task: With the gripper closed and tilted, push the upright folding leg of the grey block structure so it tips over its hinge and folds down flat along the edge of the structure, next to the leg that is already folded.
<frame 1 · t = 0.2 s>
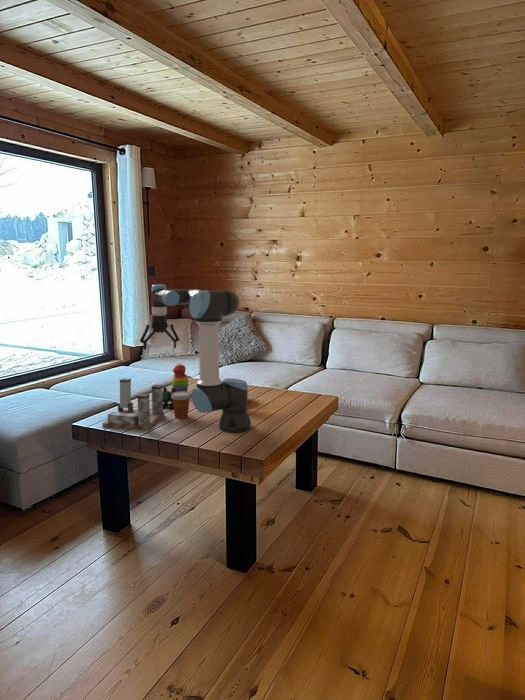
hand: (160, 354, 255), 28 cm above the table, tool pointing down, fingers open, 13 cm apart
disposable coffee cup: (181, 417, 243), on the table
binoculars: (168, 408, 257), on the table
grey block structure: (134, 421, 235), on the table
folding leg: (125, 393, 243), point 11 cm above the table, hinge at -4.0°
stacking bear: (179, 394, 284), on the table
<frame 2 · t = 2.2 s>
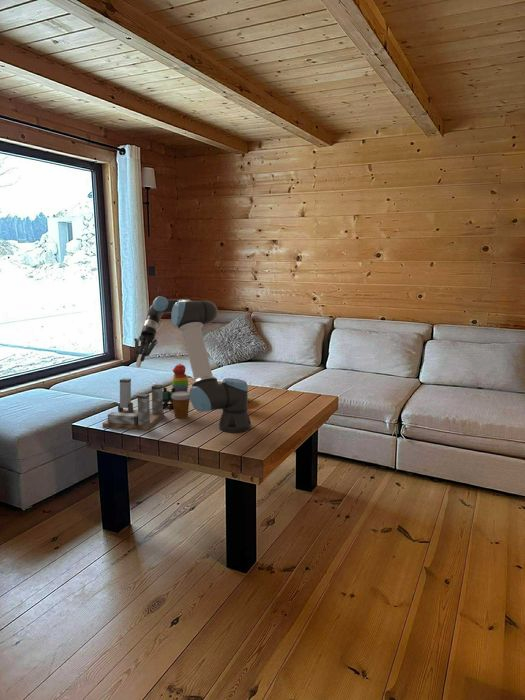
hand: (137, 365, 253), 22 cm above the table, tool tilted 45°, fingers closed
nothing on the table moved.
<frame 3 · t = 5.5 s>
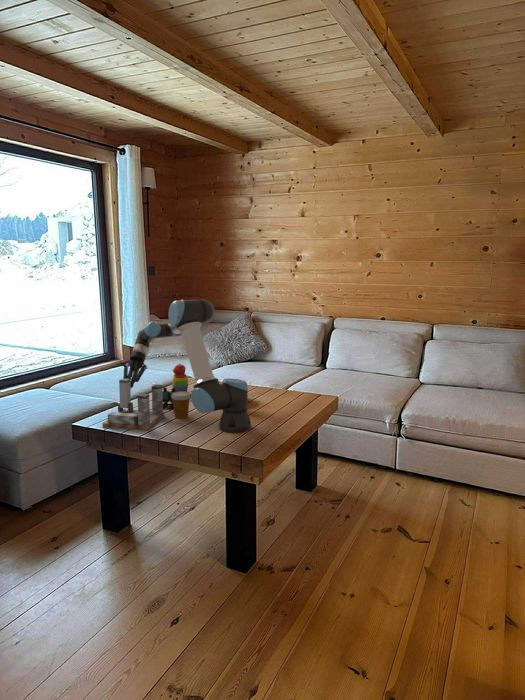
hand: (126, 392, 246), 10 cm above the table, tool tilted 45°, fingers closed
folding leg: (125, 393, 243), point 11 cm above the table, hinge at -1.7°, touching gripper
everything else where it was.
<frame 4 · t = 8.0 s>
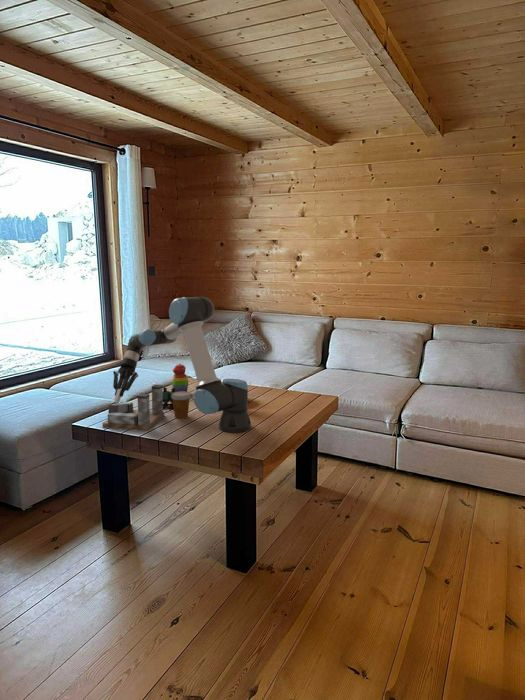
hand: (116, 401, 236), 9 cm above the table, tool tilted 45°, fingers closed
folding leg: (119, 408, 237), point 6 cm above the table, hinge at 77.9°
everything else where it was.
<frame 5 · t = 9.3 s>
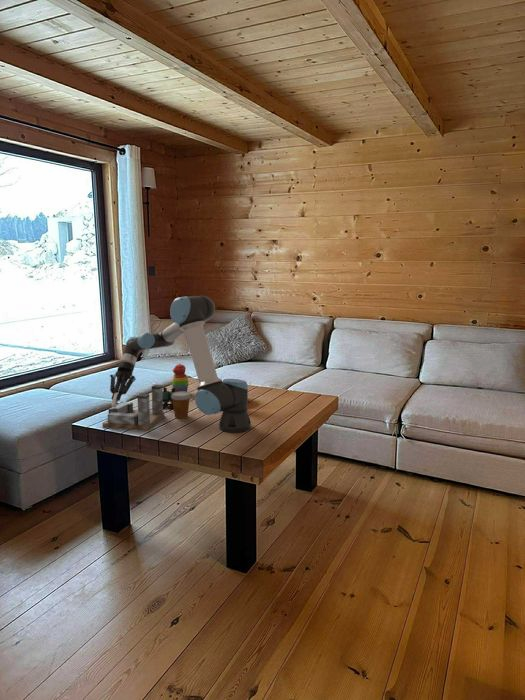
hand: (113, 406, 231), 8 cm above the table, tool tilted 45°, fingers closed
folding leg: (119, 410, 237), point 5 cm above the table, hinge at 85.7°
everything else where it was.
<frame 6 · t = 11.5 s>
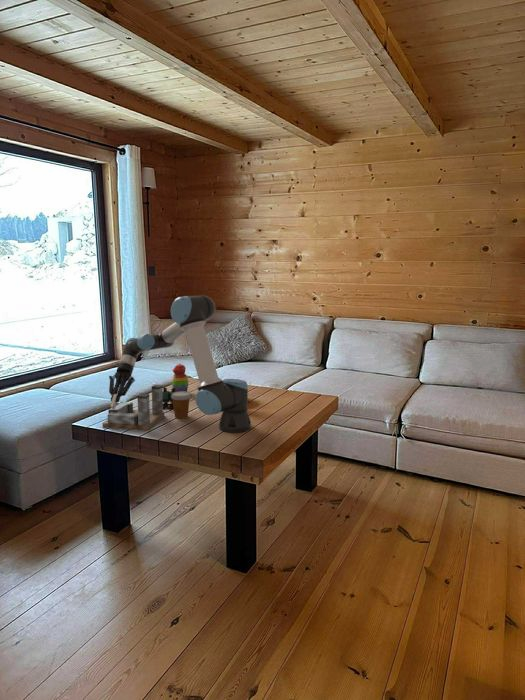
hand: (112, 407, 229), 8 cm above the table, tool tilted 45°, fingers closed
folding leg: (119, 410, 237), point 4 cm above the table, hinge at 87.2°
everything else where it was.
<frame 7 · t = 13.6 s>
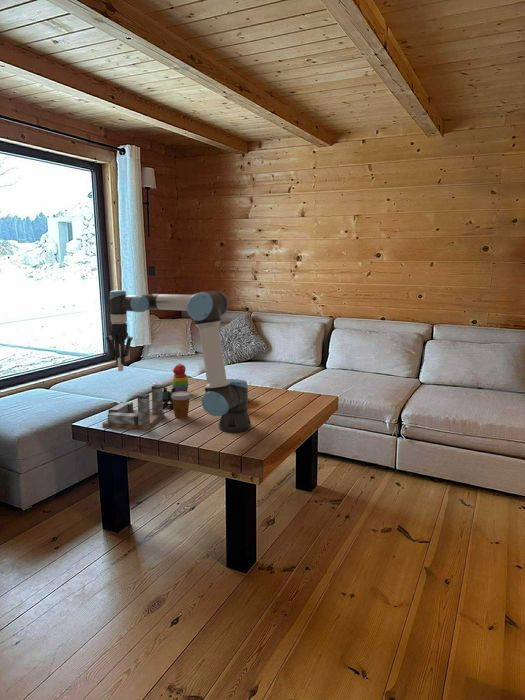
hand: (120, 370, 237), 24 cm above the table, tool pointing down, fingers closed
nothing on the table moved.
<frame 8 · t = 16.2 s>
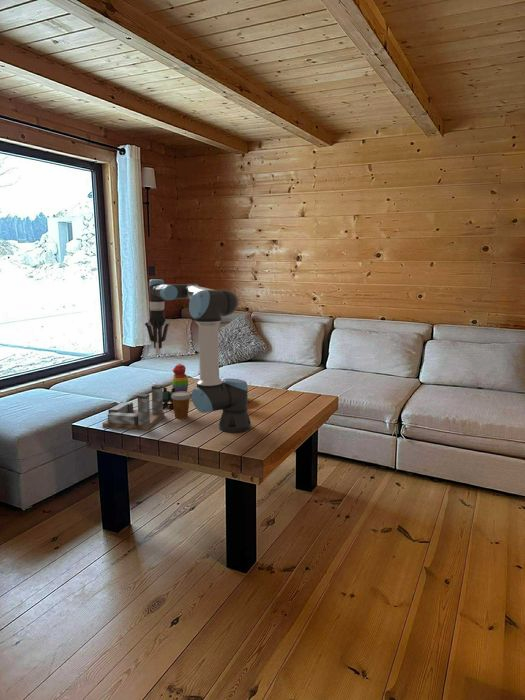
hand: (158, 354, 254), 28 cm above the table, tool pointing down, fingers closed
nothing on the table moved.
at the end: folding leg at +87° (first picture: -4°); the gripper is holding nothing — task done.
